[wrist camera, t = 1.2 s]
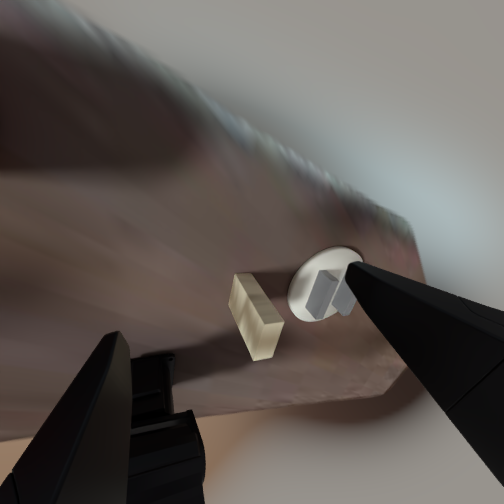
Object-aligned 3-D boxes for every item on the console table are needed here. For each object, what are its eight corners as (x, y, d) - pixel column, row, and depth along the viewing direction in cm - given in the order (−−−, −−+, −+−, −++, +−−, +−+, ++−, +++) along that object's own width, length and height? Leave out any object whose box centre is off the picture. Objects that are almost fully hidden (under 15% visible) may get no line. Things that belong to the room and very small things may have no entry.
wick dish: (340, 312, 38) (356, 328, 35) (277, 321, 33) (290, 340, 30) (371, 247, 33) (392, 259, 30) (302, 245, 28) (320, 259, 25)
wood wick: (243, 303, 29) (272, 357, 22) (228, 305, 28) (253, 361, 22) (251, 273, 27) (284, 321, 21) (234, 273, 26) (264, 324, 20)
